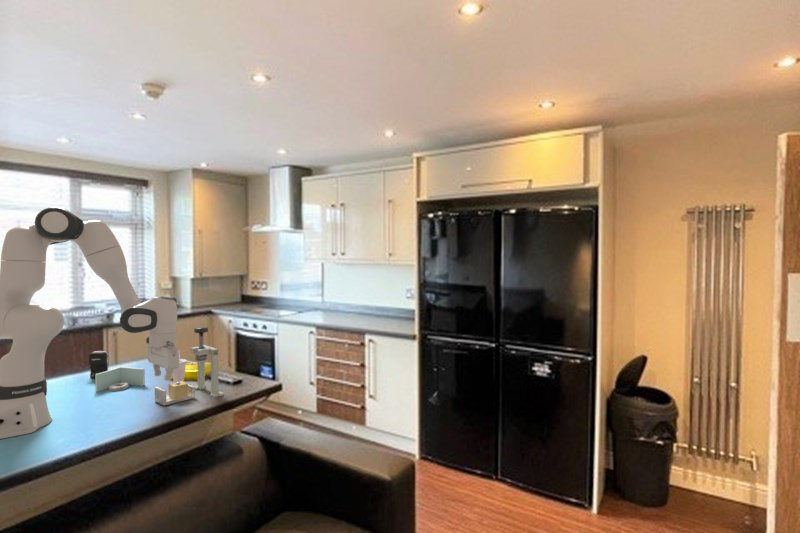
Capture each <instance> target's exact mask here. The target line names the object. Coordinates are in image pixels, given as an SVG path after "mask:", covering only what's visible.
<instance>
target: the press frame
mask: <svg viewBox="0 0 800 533" xmlns="http://www.w3.org/2000/svg"><path fill="white" fill-rule="evenodd" d="M190 354H194V355H196V354H197V355H199V356H201V355H206V354H208V355H210V362H211V373H210V395H209V396H210V397H211V396H212V397H211V398H213V397H214V399H215V398H218V396H219V397H223V396H224V395H225V393H224V392H222V391H219V387H220V386H219V380H220V379H219V348H216V347H213V346H210V345H209V346H208V345H206V344H204V349H199V344H197V345H196V346H194V347H190ZM205 361H206V360H204V361H196V362H197V368H198V380H197V385H193V386H194V387H195V389H196V390H197V389H198V390H199V389H200V391H202V390H205V389H206V388H207V386H206V379H205V378H206V377H205ZM201 389H202V390H201ZM196 390H195V391H196Z"/></svg>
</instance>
